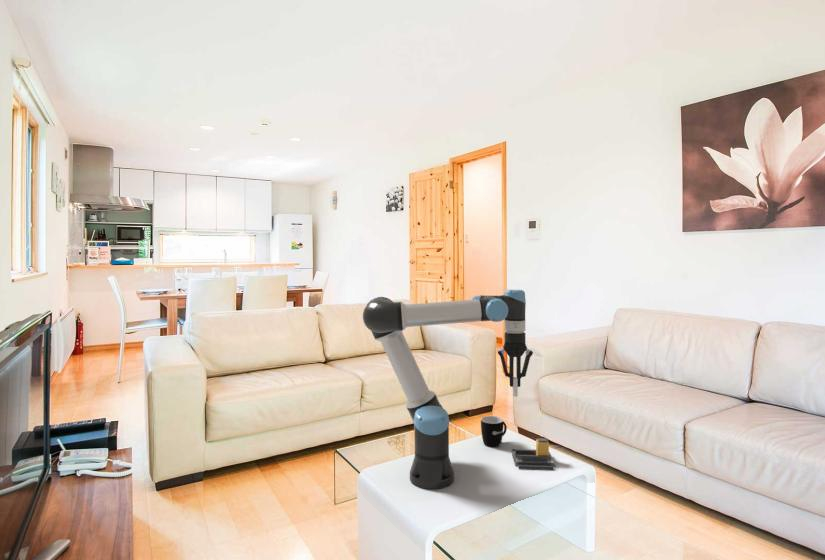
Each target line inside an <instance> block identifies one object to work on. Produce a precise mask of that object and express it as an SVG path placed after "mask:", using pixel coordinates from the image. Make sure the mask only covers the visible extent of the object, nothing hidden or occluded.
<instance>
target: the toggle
mask: <svg viewBox="0 0 825 560" xmlns="http://www.w3.org/2000/svg"><path fill="white" fill-rule="evenodd" d="M535 450H536V455H546V456H549V452H550V443H549V440H548V439H547V438H545V437H544V438H543V437H542V438H540V437H539V438H536V439H535Z"/></svg>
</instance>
